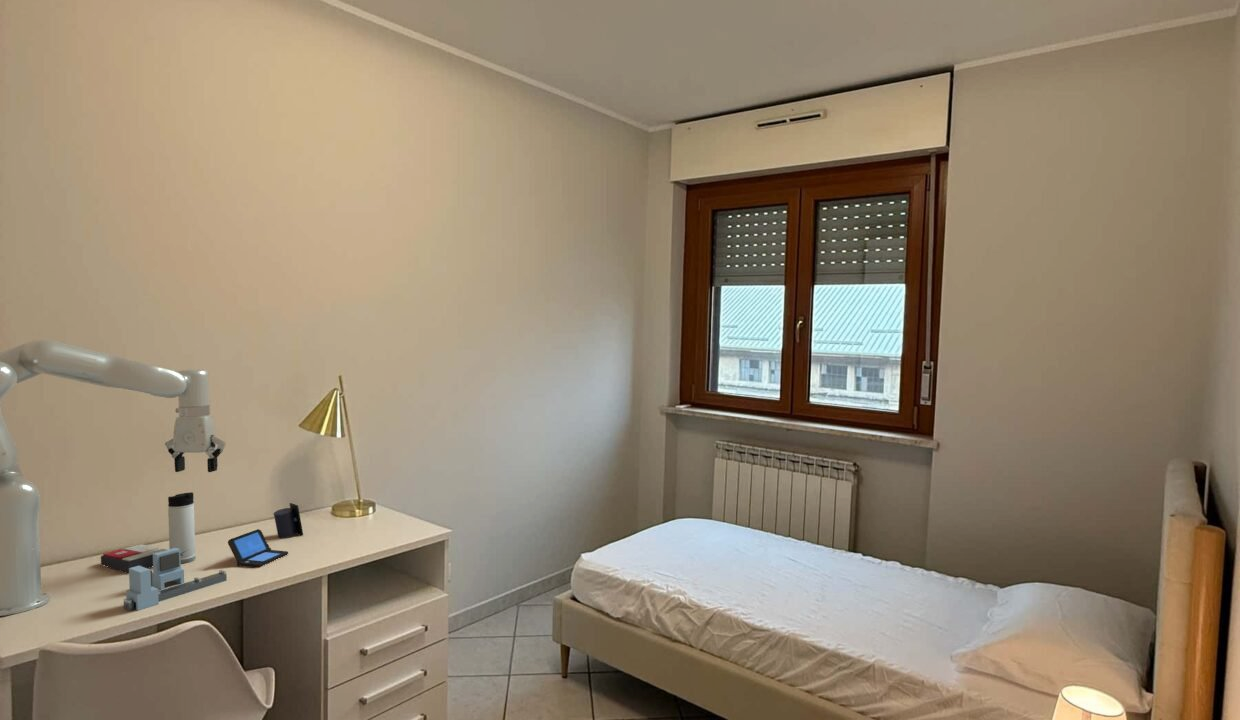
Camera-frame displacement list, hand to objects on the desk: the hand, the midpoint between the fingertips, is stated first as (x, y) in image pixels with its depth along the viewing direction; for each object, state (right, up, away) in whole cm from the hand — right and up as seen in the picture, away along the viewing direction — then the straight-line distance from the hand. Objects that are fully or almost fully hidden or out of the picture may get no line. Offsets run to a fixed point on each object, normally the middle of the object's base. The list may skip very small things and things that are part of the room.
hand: (196, 471), depth 194 cm
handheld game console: (+16, -27, +3) cm, 32 cm away
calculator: (-18, -27, 0) cm, 32 cm away
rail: (+10, -28, -23) cm, 37 cm away
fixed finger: (+6, -28, -30) cm, 41 cm away
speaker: (+14, -26, +26) cm, 39 cm away
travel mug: (-5, -27, +2) cm, 27 cm away
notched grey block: (+3, -27, -17) cm, 32 cm away
